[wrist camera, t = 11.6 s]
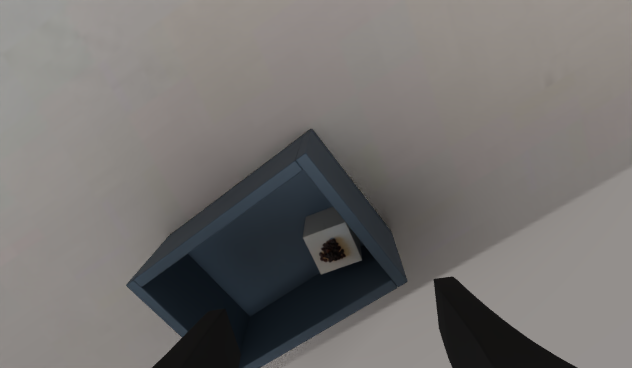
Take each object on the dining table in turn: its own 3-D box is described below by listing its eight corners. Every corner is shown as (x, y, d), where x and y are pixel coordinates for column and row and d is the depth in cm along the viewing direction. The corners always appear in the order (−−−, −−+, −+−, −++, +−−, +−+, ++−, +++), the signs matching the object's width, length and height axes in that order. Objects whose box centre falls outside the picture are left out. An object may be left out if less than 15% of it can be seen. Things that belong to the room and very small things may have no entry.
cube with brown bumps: (359, 236, 19) (363, 263, 17) (322, 250, 20) (320, 278, 17) (343, 201, 19) (345, 224, 16) (305, 216, 19) (301, 240, 17)
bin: (311, 127, 18) (305, 152, 14) (391, 231, 20) (408, 282, 15) (168, 236, 20) (125, 285, 16) (251, 320, 22) (231, 384, 18)
